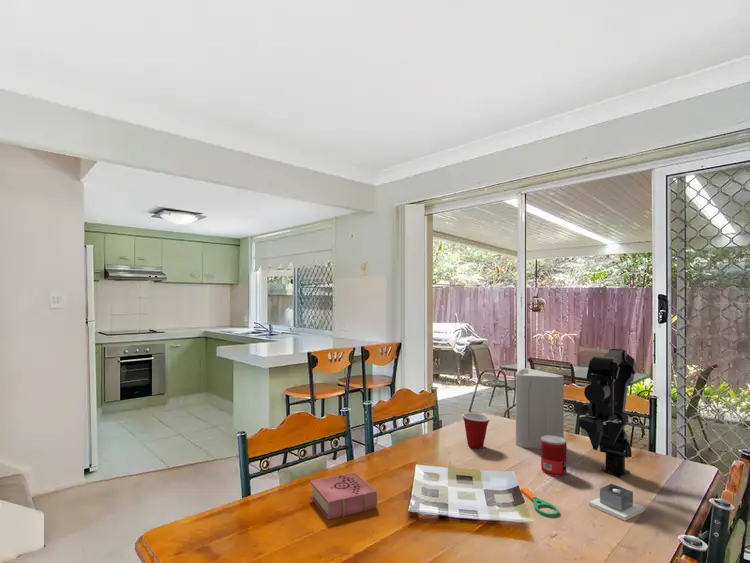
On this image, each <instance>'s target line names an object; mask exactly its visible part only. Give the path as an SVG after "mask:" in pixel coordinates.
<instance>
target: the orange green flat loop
mask: <svg viewBox="0 0 750 563" xmlns="http://www.w3.org/2000/svg"><path fill="white" fill-rule="evenodd" d="M520 492H521V493H522V494H523V495H524V496H526V498H528V499H529V500H530V501H531V502H532V503H533V508H534V511H535V512H537V513H538V514H539V515H541V516H544V517H547V518H556V517H559V513H560V510H559V508H558V507H557V506H555V505H554V504H552V503H550V502H548V501H545V500H543V499H541V498H538V497H537V496H536V495H534V493H532V492H531V491H530V490H529V489H528V488H526V487H522V488H520ZM543 507H544V508H550V509H552V510H553V511H554V512H545V511H542V510H540V509H539V508H543Z"/></svg>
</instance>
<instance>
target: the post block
mask: <svg viewBox="0 0 750 563" xmlns="http://www.w3.org/2000/svg"><path fill="white" fill-rule="evenodd" d="M613 492H616V493H618V494H619V493H620V490H618V489H613ZM588 503H589V504H588V505H589V506H590V507H592V508H594V509H597V510H600V511H602V512H604V513H606V514H608V515H611V516H613V517H615V518H617V519H619V520H622V521H624V522H626V521H627V520H630V519H632V518H634V517H636V516H638V515H640V514H642V513H643V512H645V507H644V506H642V505H639V504H638V503H637V504H636V503H634V502H633V506H632V507H630V508H628V509H626V510H624V511H622V512H621V511H618V510H616V509H614V508H611V507H609V506H607V505H604V504H602V503H600V496H599V497H597V498H594V499H592V500H590V501H589V502H588Z"/></svg>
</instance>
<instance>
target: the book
mask: <svg viewBox="0 0 750 563" xmlns="http://www.w3.org/2000/svg"><path fill="white" fill-rule="evenodd" d="M310 485H311V486H312V494H311V495H310V496H309V497H310V498H311V500H312V501H313V502H314V504H315V505H316V506H317V507H318V509H319V510H320V511H321V512H322V514H323V515H324V517H326V519H327V520H332V519H333V520H334V519H337V518H341V517H342V518H345V516H349V515H353V514H357V513H361V512H367V511H369V510H373V509H377V508H378V506H377V505H378V494H377V489H375V488H374V487H373V486H372V485H370V484H369V482H367V481H366V480H365V479H363V477H361V476H360V475H359V474H358V473H357V472H355V471H353V472H348V473H343V474H338V475H337V474H336V475H333V476H327V477H323V478H317V479H313V480H310Z"/></svg>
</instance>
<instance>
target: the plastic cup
mask: <svg viewBox="0 0 750 563" xmlns="http://www.w3.org/2000/svg"><path fill="white" fill-rule="evenodd" d="M461 415H462V418H463V422H464V429H465V436H466V441H467V442H466V443H467V445H468V447H469V448H471V449H476V450H480V449H483V447H484V445H485V440H486V435H487V429H488V424H489V423H490V420H491V418H490V417H489V416H487V415H485V414H480V413H475V412H465V413H462V414H461Z"/></svg>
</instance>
